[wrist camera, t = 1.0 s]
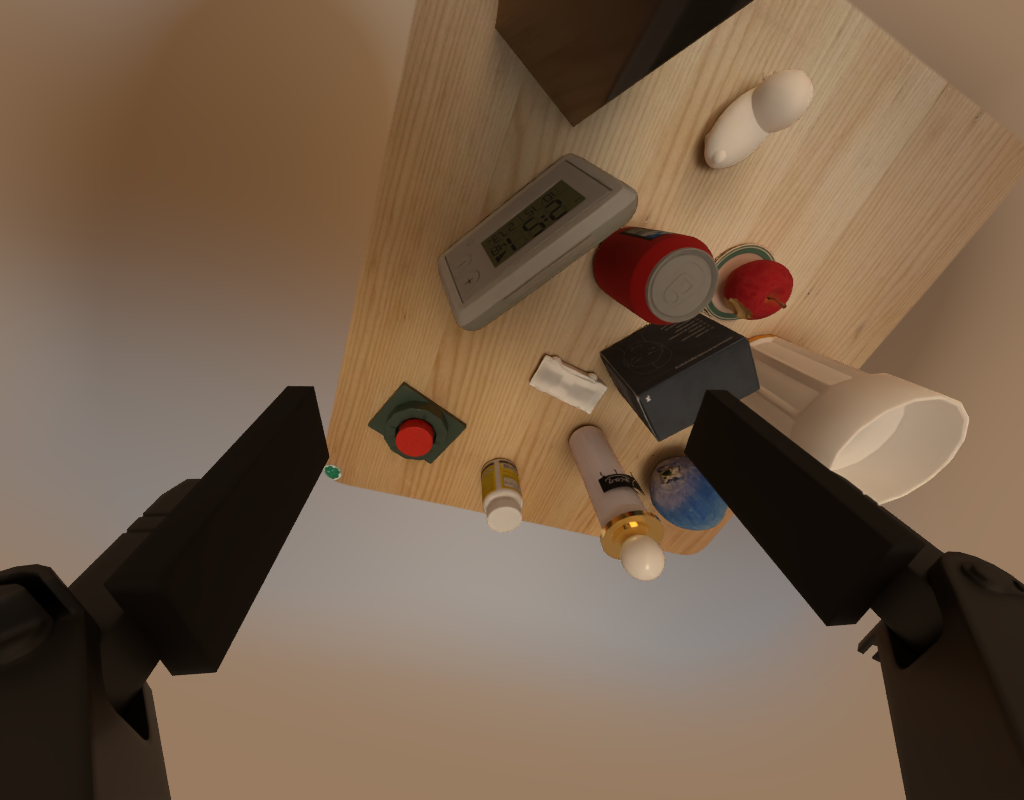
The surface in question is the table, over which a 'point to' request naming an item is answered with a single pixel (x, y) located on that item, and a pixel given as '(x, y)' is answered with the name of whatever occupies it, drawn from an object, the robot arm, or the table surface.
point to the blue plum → (685, 495)
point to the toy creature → (757, 117)
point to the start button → (415, 437)
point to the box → (679, 370)
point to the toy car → (568, 383)
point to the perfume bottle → (618, 506)
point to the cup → (856, 418)
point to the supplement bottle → (501, 495)
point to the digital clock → (533, 239)
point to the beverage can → (657, 274)
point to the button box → (416, 406)
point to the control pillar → (602, 43)
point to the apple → (749, 284)
